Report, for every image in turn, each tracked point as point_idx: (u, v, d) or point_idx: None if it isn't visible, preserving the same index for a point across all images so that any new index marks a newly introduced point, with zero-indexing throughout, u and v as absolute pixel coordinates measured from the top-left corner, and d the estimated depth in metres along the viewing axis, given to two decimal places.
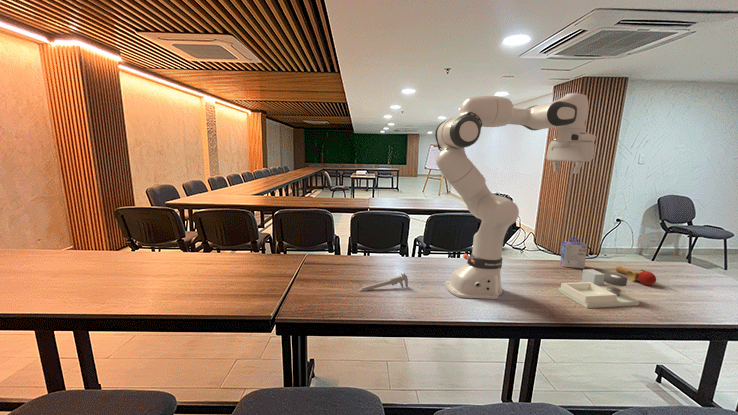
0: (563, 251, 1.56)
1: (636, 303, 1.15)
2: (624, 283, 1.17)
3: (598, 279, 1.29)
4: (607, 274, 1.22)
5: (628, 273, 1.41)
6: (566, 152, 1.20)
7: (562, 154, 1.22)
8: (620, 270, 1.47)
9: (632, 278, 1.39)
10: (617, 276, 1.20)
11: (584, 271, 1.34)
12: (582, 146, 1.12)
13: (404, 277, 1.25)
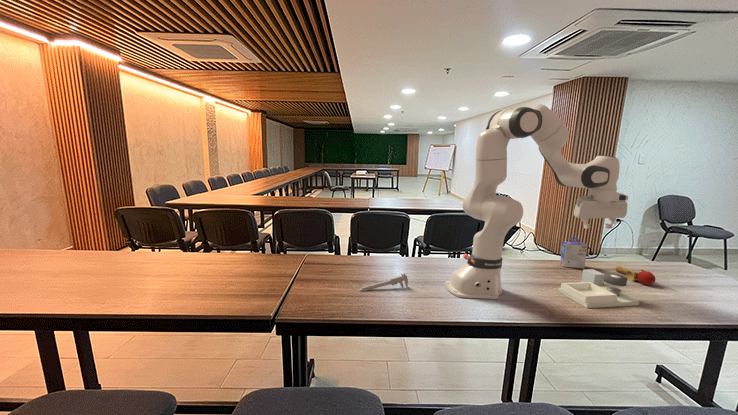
0: (563, 251, 1.56)
1: (636, 303, 1.15)
2: (624, 283, 1.17)
3: (598, 279, 1.29)
4: (607, 274, 1.22)
5: (627, 273, 1.41)
6: (606, 210, 1.25)
7: (601, 212, 1.25)
8: (620, 270, 1.48)
9: (631, 278, 1.39)
10: (617, 276, 1.20)
11: (584, 271, 1.34)
12: (626, 205, 1.25)
13: (404, 277, 1.25)
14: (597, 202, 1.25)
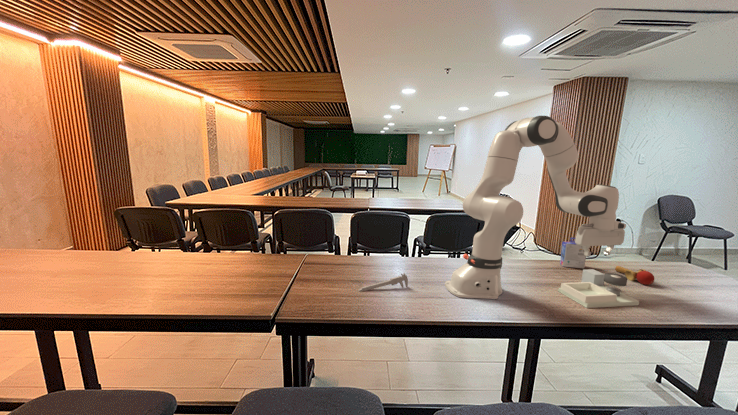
0: (563, 251, 1.56)
1: (636, 303, 1.15)
2: (624, 283, 1.17)
3: (598, 279, 1.29)
4: (607, 274, 1.22)
5: (627, 272, 1.41)
6: (605, 238, 1.28)
7: (601, 240, 1.28)
8: (619, 270, 1.48)
9: (631, 277, 1.40)
10: (617, 276, 1.20)
11: (584, 271, 1.34)
12: (624, 233, 1.28)
13: (404, 277, 1.25)
14: (598, 230, 1.27)
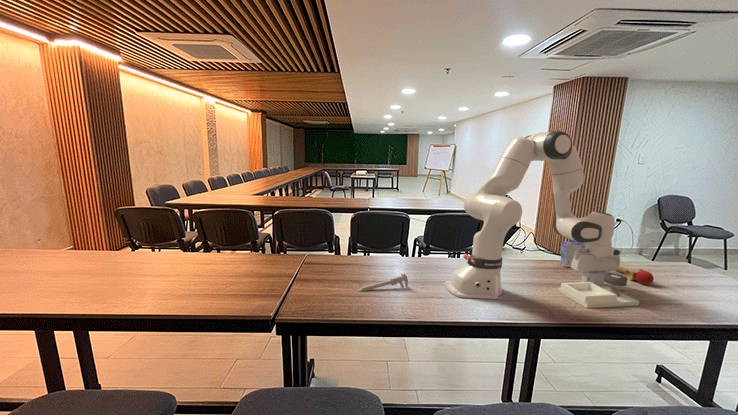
0: (563, 251, 1.56)
1: (636, 303, 1.15)
2: (624, 283, 1.17)
3: (598, 278, 1.29)
4: (607, 274, 1.22)
5: (626, 272, 1.41)
6: (601, 263, 1.30)
7: (597, 266, 1.30)
8: (619, 269, 1.48)
9: (630, 277, 1.40)
10: (617, 276, 1.20)
11: None
12: (619, 259, 1.30)
13: (404, 277, 1.25)
14: (593, 256, 1.29)
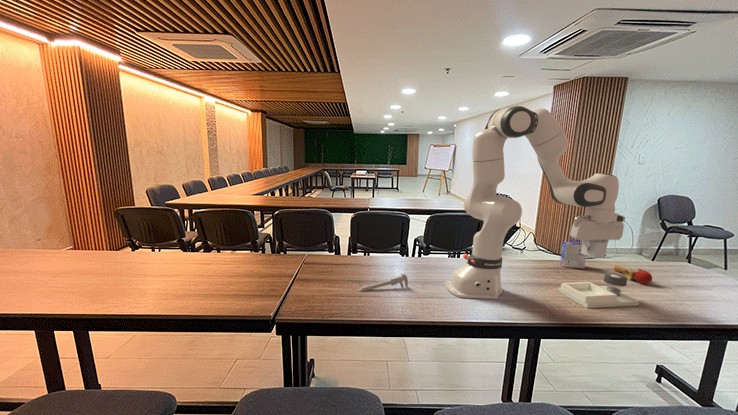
0: (563, 251, 1.56)
1: (636, 303, 1.15)
2: (624, 283, 1.17)
3: (600, 247, 1.18)
4: (607, 274, 1.22)
5: (625, 272, 1.42)
6: (603, 231, 1.18)
7: (598, 233, 1.18)
8: (618, 269, 1.49)
9: (629, 277, 1.40)
10: (617, 276, 1.20)
11: None
12: (622, 227, 1.19)
13: (404, 277, 1.25)
14: (595, 223, 1.17)
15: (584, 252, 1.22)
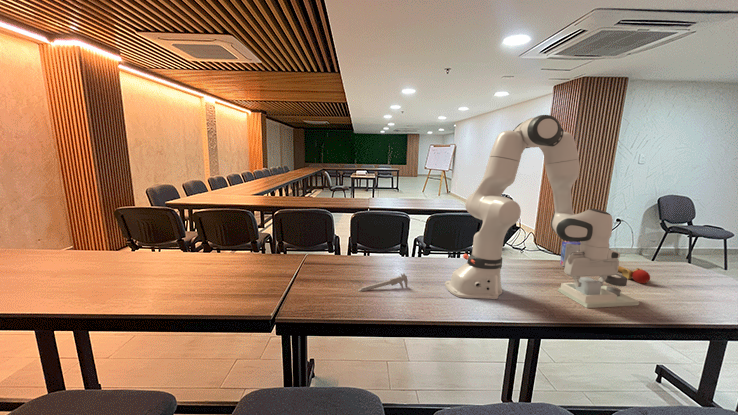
0: (563, 251, 1.56)
1: (636, 303, 1.15)
2: (624, 283, 1.17)
3: (594, 288, 1.16)
4: None
5: (623, 271, 1.43)
6: (598, 267, 1.16)
7: (593, 270, 1.16)
8: None
9: (627, 276, 1.41)
10: (617, 276, 1.20)
11: None
12: (618, 262, 1.16)
13: (404, 277, 1.25)
14: (589, 259, 1.15)
15: None
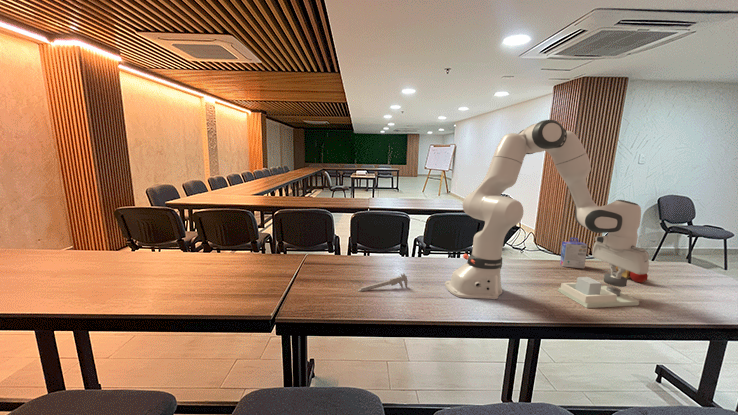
0: (563, 251, 1.56)
1: (636, 303, 1.15)
2: (624, 284, 1.17)
3: (594, 288, 1.16)
4: (607, 275, 1.22)
5: None
6: None
7: None
8: None
9: (625, 275, 1.42)
10: None
11: (578, 279, 1.20)
12: None
13: (404, 277, 1.25)
14: None
15: None
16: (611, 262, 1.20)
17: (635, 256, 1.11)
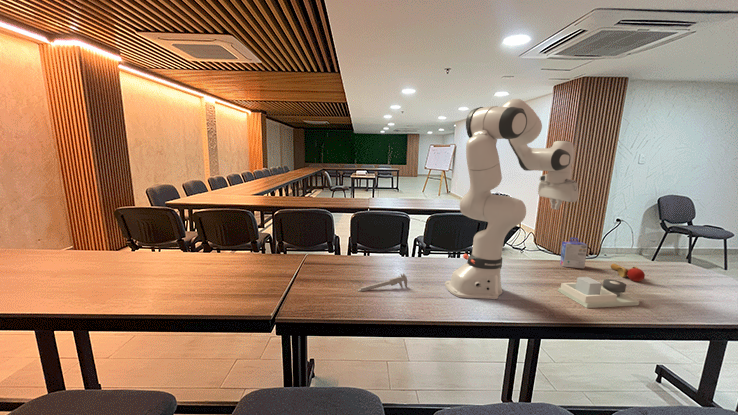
0: (563, 251, 1.56)
1: (636, 303, 1.15)
2: (623, 289, 1.17)
3: (594, 288, 1.16)
4: (606, 280, 1.22)
5: (619, 270, 1.45)
6: None
7: None
8: (614, 267, 1.51)
9: (622, 274, 1.43)
10: (616, 282, 1.21)
11: (578, 279, 1.20)
12: None
13: (403, 278, 1.25)
14: None
15: None
16: (551, 196, 1.38)
17: (567, 187, 1.29)
